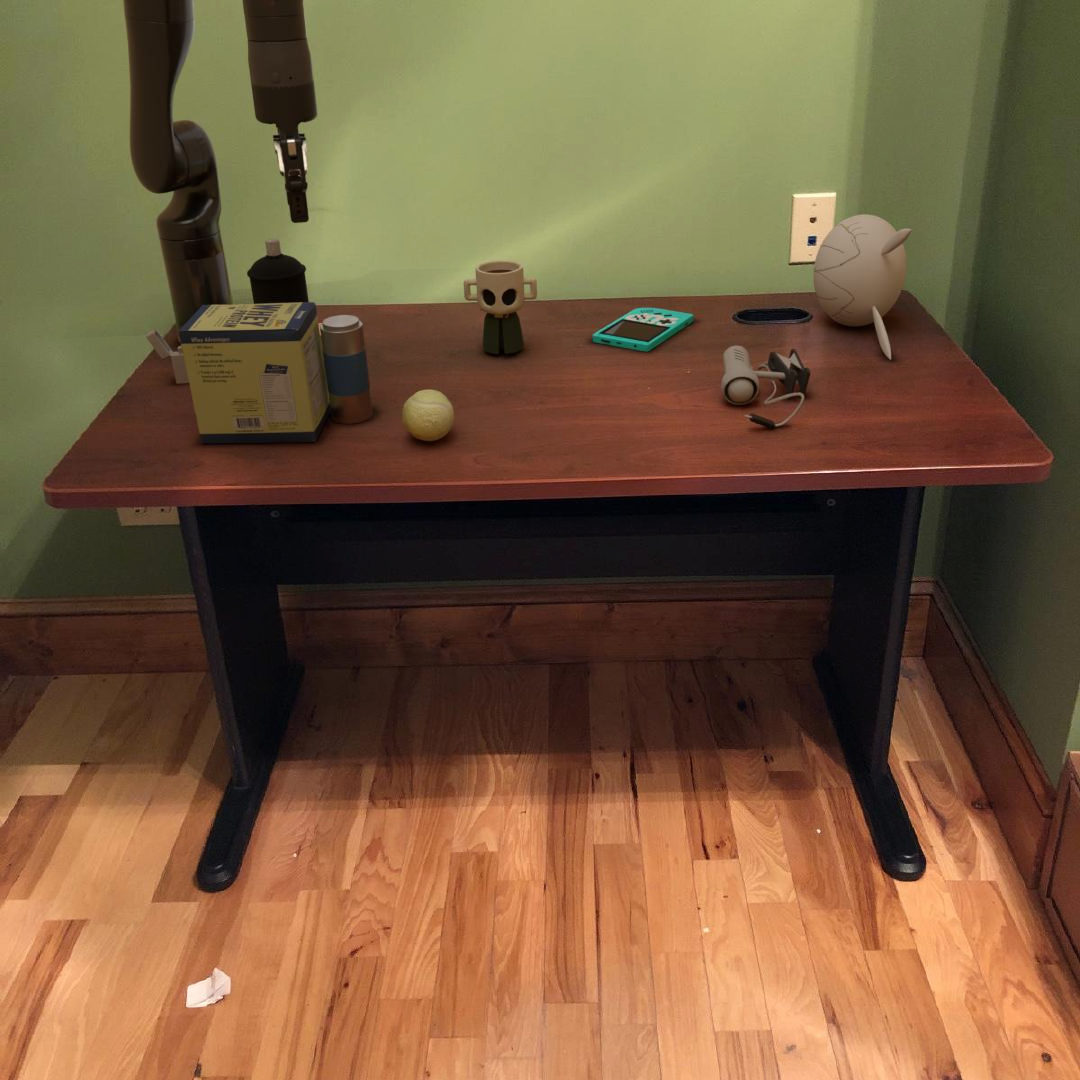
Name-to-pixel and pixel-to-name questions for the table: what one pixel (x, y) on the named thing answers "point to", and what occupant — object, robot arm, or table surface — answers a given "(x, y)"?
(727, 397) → the clip-on lamp
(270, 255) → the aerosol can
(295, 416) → the protein box
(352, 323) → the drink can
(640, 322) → the handheld game console
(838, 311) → the beige egg-shaped piece
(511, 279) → the character mug
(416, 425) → the tennis ball
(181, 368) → the lighter
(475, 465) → the table surface
